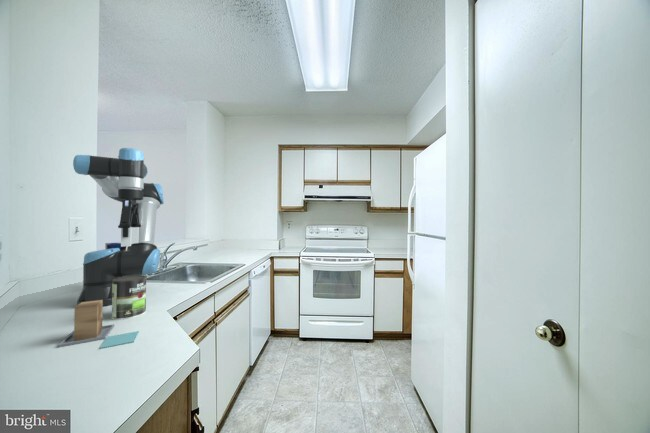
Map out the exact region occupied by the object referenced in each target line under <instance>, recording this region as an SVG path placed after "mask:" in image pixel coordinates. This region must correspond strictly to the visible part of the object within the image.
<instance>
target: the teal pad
mask: <svg viewBox="0 0 650 433" xmlns="http://www.w3.org/2000/svg"><path fill="white" fill-rule="evenodd" d="M139 331H140V330H137V331H133V332H132V331H131V332H126V333H120V334H115V335H108V336H107V337H106V338H105V339H104V341H103V342H102V343H101V345H100V346H99V350H102V349H107V348H112V347H118V346H124V345H127V344H132V343H135V340H136V339H137V337H138V334H139Z"/></svg>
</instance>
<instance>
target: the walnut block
mask: <svg viewBox="0 0 650 433" xmlns="http://www.w3.org/2000/svg"><path fill="white" fill-rule="evenodd" d="M103 307H104V306H103V300H96V301H88V302H81V303H80V304H78V305H77V304H76V306H74V319H73V320H74V324H73V326H74V328H73V331H74V341H79V340H85V339H91V338H96V337H98V335H99V334H100V333H101V332H102V326H103Z"/></svg>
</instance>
